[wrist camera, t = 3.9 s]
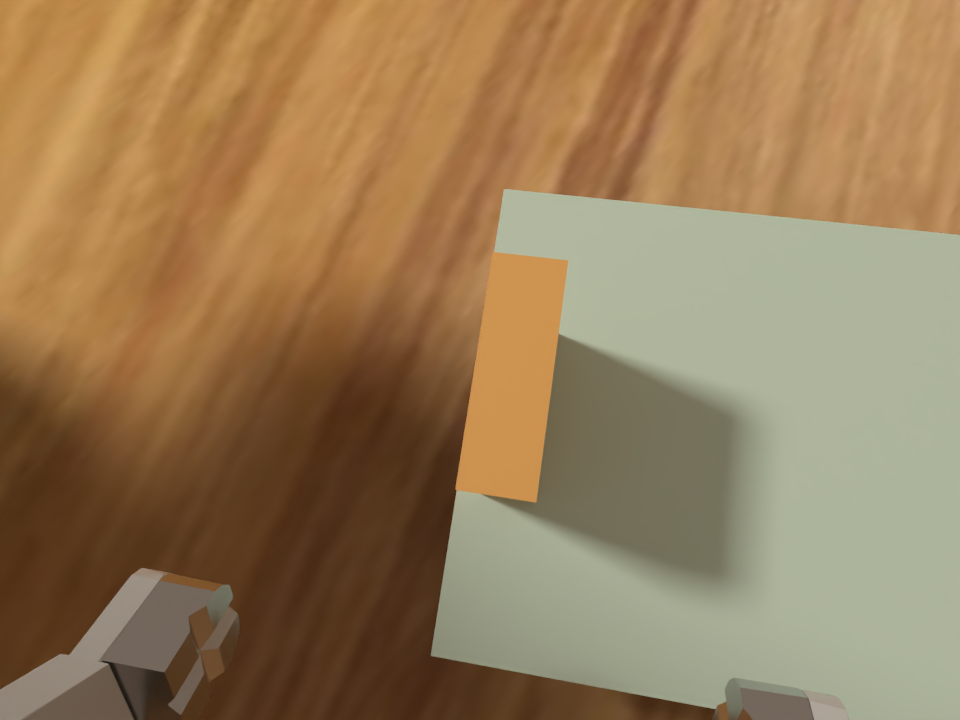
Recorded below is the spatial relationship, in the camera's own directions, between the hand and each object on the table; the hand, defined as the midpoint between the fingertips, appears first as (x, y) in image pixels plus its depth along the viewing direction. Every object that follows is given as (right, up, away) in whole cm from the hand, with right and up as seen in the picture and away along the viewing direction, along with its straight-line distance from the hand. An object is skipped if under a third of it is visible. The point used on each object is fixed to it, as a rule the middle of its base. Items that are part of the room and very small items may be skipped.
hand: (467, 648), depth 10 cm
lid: (+9, +2, +10) cm, 14 cm away
